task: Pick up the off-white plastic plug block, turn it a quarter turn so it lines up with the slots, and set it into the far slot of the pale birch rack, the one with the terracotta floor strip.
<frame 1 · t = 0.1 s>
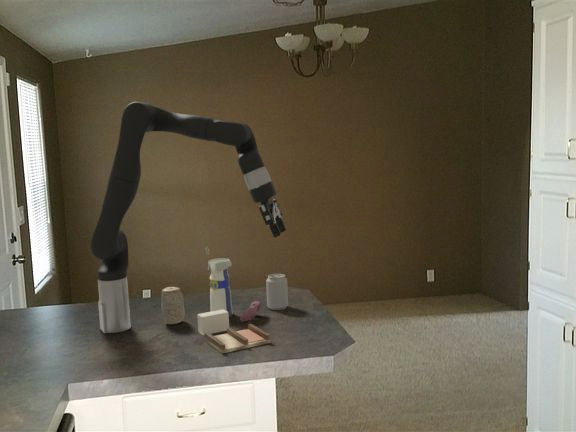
hand: (280, 233, 179), 31 cm above the table, tool tilted 20°, fingers open, 8 cm apart
plug block: (213, 331, 188), on the table
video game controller: (252, 319, 200), on the table
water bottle: (221, 315, 206), on the table
can: (277, 308, 212), on the table
carving: (174, 323, 198), on the table
slot rack: (237, 341, 177), on the table
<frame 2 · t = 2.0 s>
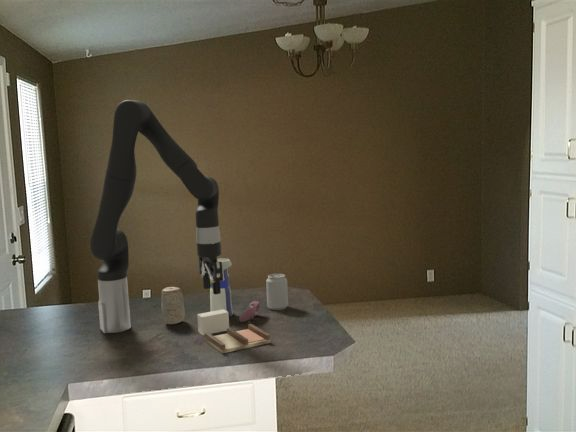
hand: (211, 291, 186), 13 cm above the table, tool pointing down, fingers open, 8 cm apart
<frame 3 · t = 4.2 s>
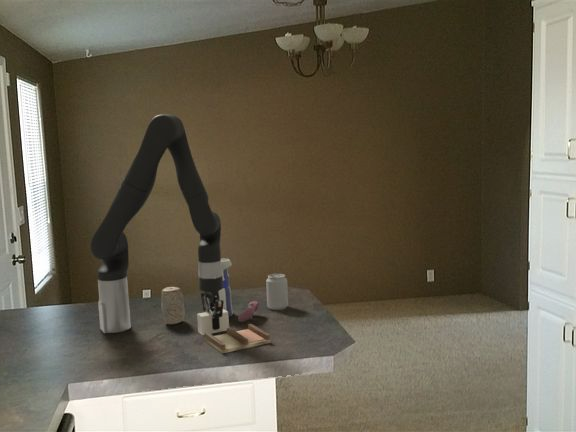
hand: (213, 327, 188), 1 cm above the table, tool pointing down, fingers closed on plug block, 4 cm apart
plug block: (213, 330, 188), on the table, touching gripper
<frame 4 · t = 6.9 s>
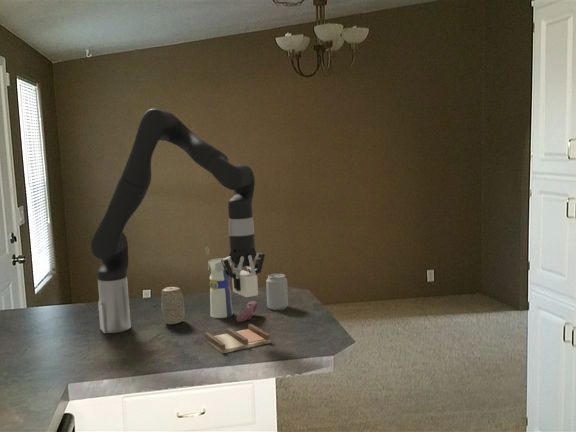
hand: (245, 288, 177), 16 cm above the table, tool pointing down, fingers closed on plug block, 4 cm apart
plug block: (245, 293, 177), point 14 cm above the table, touching gripper
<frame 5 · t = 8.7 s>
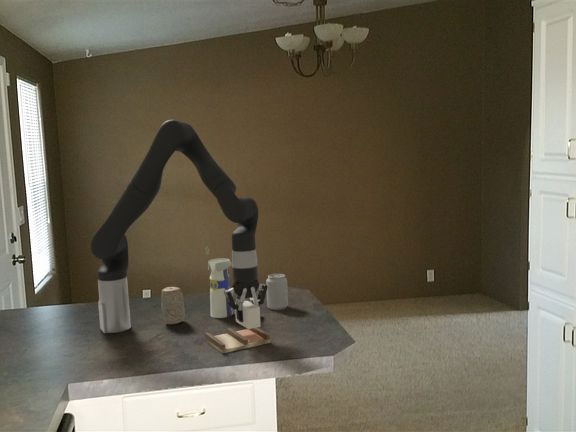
hand: (247, 319, 178), 6 cm above the table, tool pointing down, fingers closed on plug block, 4 cm apart
plug block: (248, 324, 178), point 5 cm above the table, touching gripper
when the fingers open (3 cm above the table, at t = 10.1 s): plug block stays where it is, resting on slot rack.
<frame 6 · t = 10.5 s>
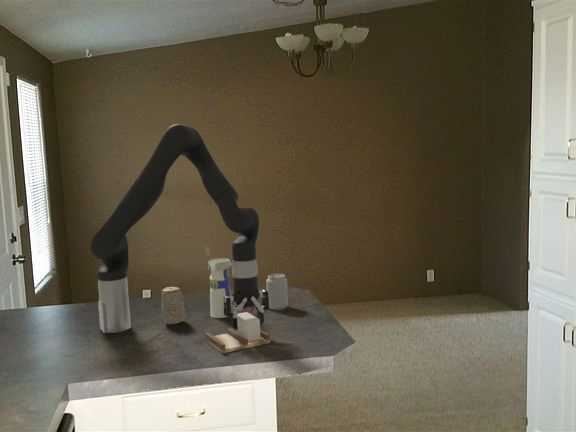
hand: (247, 326, 178), 4 cm above the table, tool pointing down, fingers open, 8 cm apart
plug block: (248, 335, 179), point 1 cm above the table, touching slot rack
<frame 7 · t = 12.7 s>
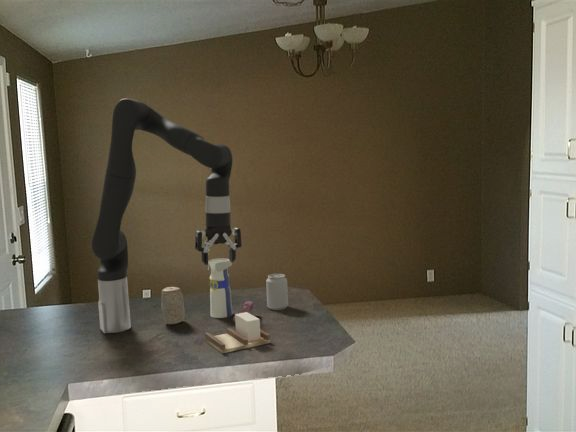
hand: (218, 262, 181), 23 cm above the table, tool pointing down, fingers open, 8 cm apart
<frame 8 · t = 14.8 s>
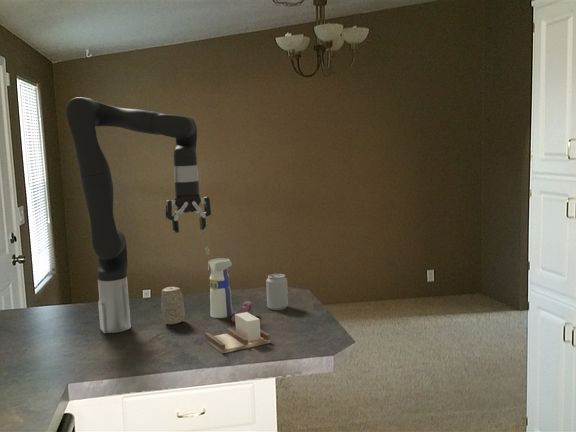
hand: (189, 230, 187), 32 cm above the table, tool pointing down, fingers open, 8 cm apart
at the end: plug block 0.0 cm from the target spot on the slot rack, point 1.2 cm above the slot rack's base; plug block tilted 0°; the gripper is holding nothing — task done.
